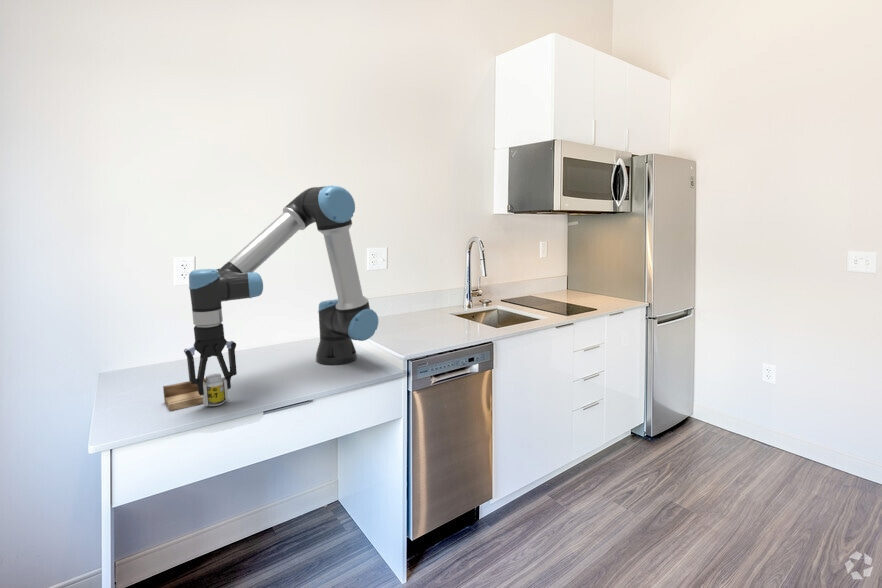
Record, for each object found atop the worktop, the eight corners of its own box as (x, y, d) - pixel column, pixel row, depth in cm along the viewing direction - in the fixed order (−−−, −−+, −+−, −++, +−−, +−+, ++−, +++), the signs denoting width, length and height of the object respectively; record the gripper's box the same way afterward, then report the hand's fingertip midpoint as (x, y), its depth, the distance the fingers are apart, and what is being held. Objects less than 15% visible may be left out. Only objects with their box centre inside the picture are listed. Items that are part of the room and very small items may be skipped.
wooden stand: (215, 391, 148) (214, 376, 148) (222, 399, 142) (221, 383, 142) (164, 402, 140) (163, 386, 139) (169, 411, 134) (168, 394, 133)
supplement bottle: (203, 406, 136) (200, 378, 134) (212, 400, 140) (209, 372, 139) (220, 406, 136) (217, 378, 134) (228, 400, 140) (225, 372, 139)
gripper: (237, 317, 142) (243, 391, 146) (170, 326, 131) (179, 406, 135) (245, 321, 137) (251, 398, 141) (175, 332, 125) (184, 414, 129)
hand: (216, 402), depth 138 cm, fingers closed on supplement bottle, 5 cm apart
